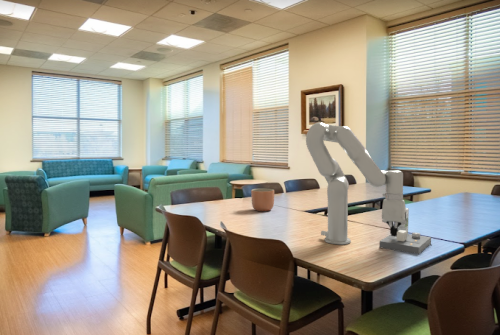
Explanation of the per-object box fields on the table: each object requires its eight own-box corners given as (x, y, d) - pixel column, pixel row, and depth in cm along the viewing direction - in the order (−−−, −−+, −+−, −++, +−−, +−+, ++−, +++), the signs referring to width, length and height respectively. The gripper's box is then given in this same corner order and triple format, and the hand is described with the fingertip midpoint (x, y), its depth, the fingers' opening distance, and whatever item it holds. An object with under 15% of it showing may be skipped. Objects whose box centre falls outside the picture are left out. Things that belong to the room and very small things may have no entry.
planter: (259, 207, 277) (259, 188, 276) (278, 209, 267) (278, 189, 267) (246, 210, 264) (246, 190, 263) (266, 213, 254) (266, 191, 253)
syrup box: (396, 233, 192) (397, 206, 191) (408, 235, 188) (408, 207, 188) (393, 235, 188) (393, 208, 187) (405, 237, 184) (405, 209, 183)
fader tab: (396, 240, 166) (396, 231, 165) (400, 238, 169) (400, 229, 169) (403, 241, 164) (403, 232, 163) (406, 239, 167) (406, 230, 167)
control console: (379, 247, 166) (379, 236, 166) (394, 237, 183) (394, 228, 183) (418, 254, 156) (418, 242, 155) (431, 243, 172) (431, 233, 172)
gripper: (375, 196, 170) (375, 235, 171) (408, 199, 160) (408, 239, 161) (380, 195, 175) (380, 232, 176) (413, 197, 166) (413, 236, 167)
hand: (394, 235), depth 169 cm, fingers closed
